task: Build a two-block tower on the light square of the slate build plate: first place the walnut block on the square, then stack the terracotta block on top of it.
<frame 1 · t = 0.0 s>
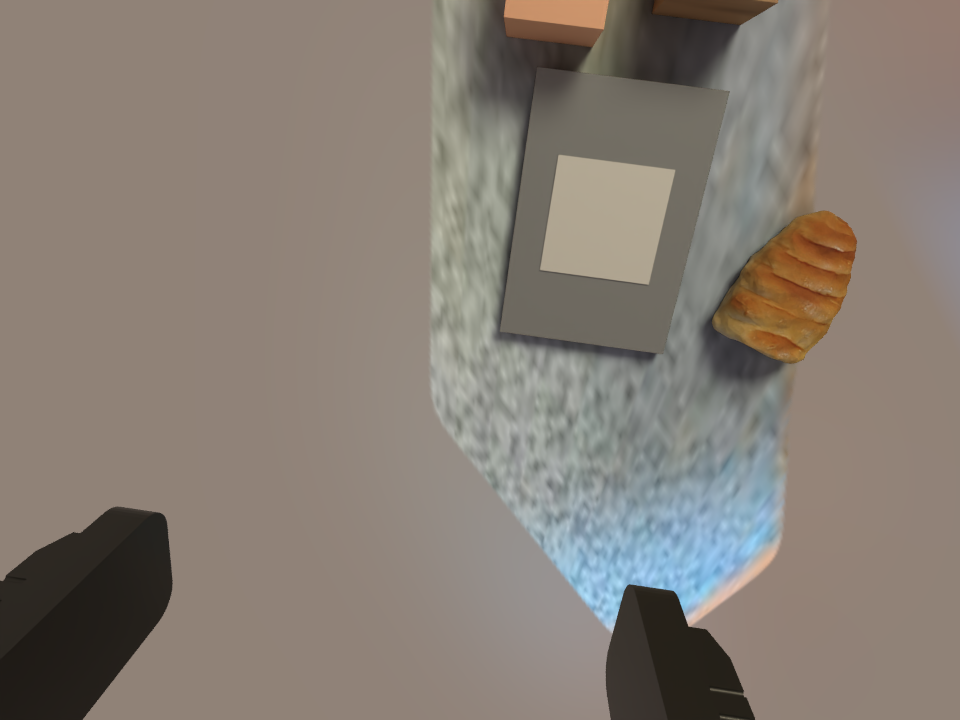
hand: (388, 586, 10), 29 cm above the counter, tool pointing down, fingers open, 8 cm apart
pastry: (772, 289, 37), on the counter
build plate: (602, 219, 35), on the counter
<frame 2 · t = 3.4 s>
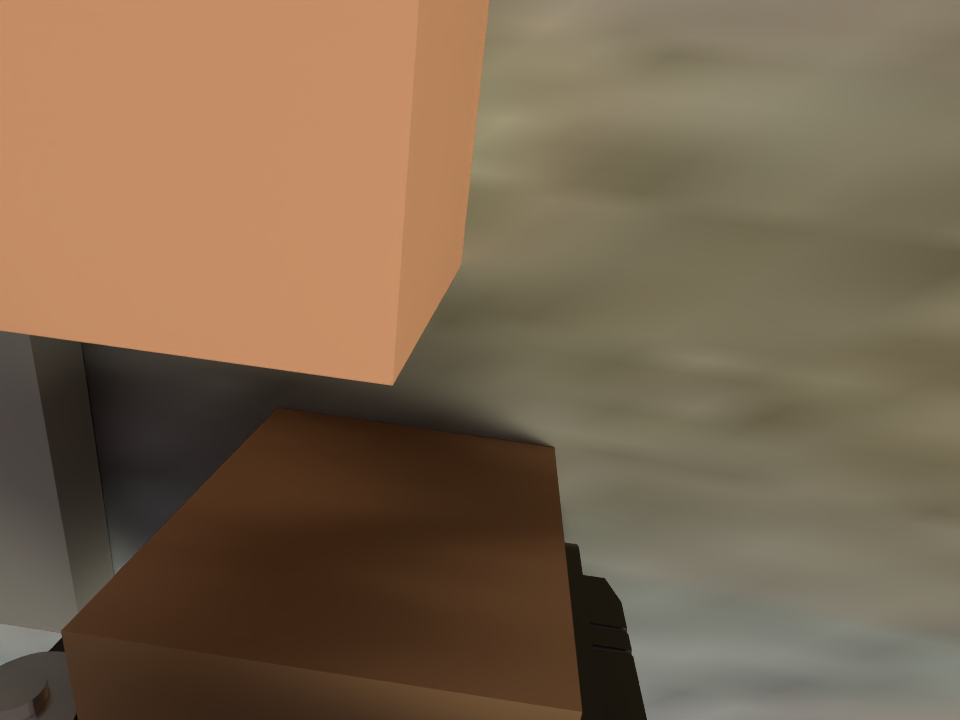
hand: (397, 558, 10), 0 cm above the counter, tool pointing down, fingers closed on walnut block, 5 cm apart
terracotta block: (310, 72, 8), on the counter
walnut block: (404, 541, 11), on the counter, touching gripper
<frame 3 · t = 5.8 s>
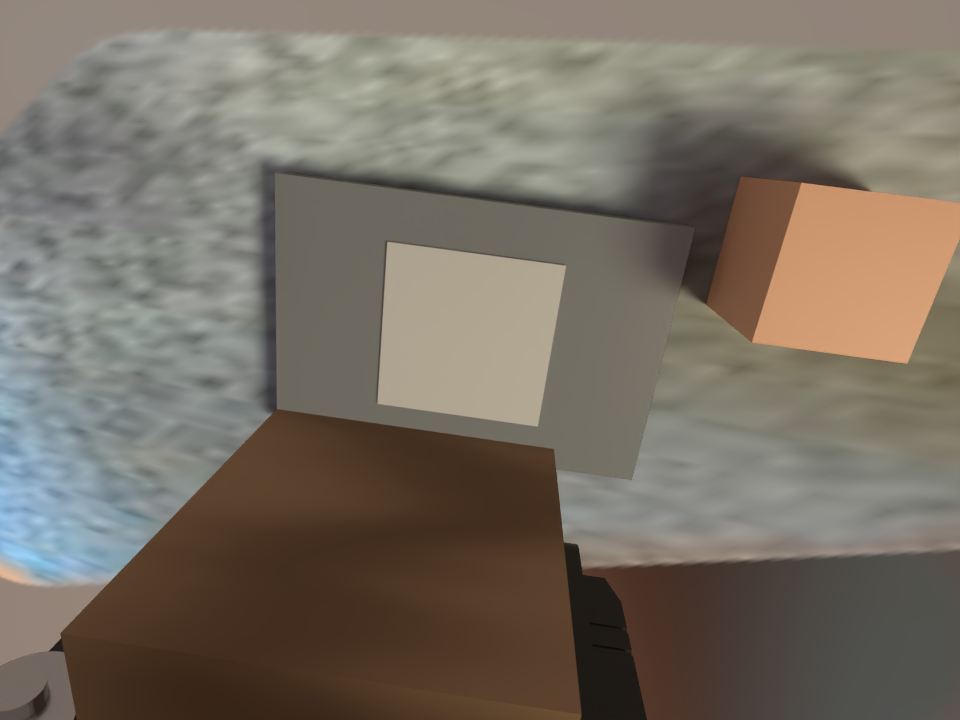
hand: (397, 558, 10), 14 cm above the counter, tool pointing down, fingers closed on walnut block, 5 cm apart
terracotta block: (785, 251, 22), on the counter
build plate: (468, 330, 24), on the counter
walnut block: (404, 542, 11), point 14 cm above the counter, touching gripper
when the fingers open (2 cm above the counter, at t = 8.3 s): walnut block stays where it is, resting on build plate.
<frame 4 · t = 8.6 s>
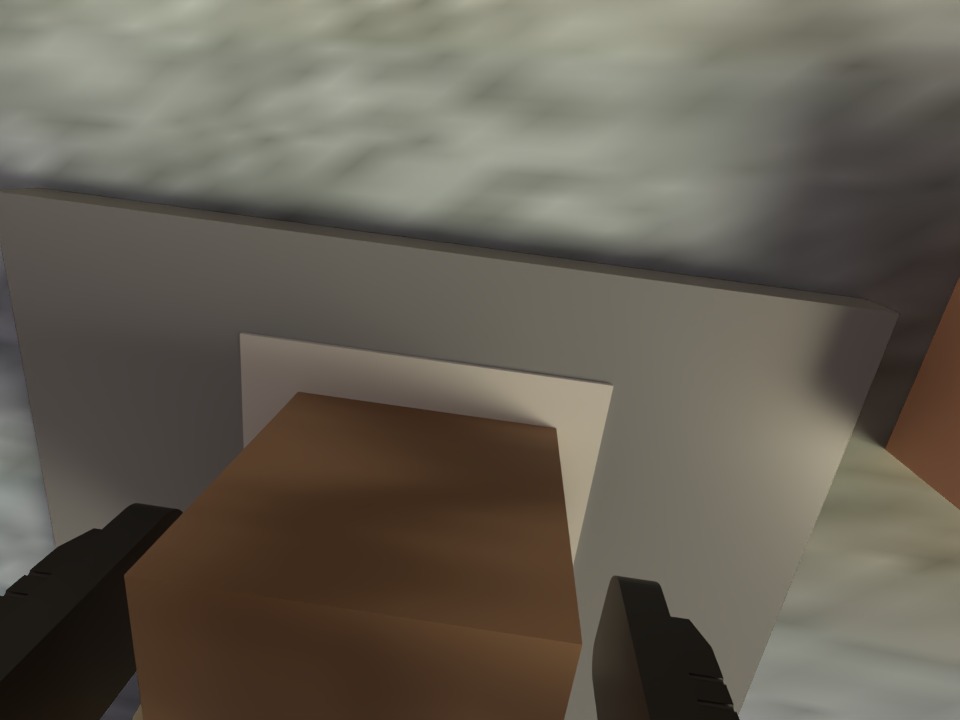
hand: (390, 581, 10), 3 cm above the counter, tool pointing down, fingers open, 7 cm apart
build plate: (419, 486, 13), on the counter
walnut block: (416, 518, 12), point 1 cm above the counter, touching build plate
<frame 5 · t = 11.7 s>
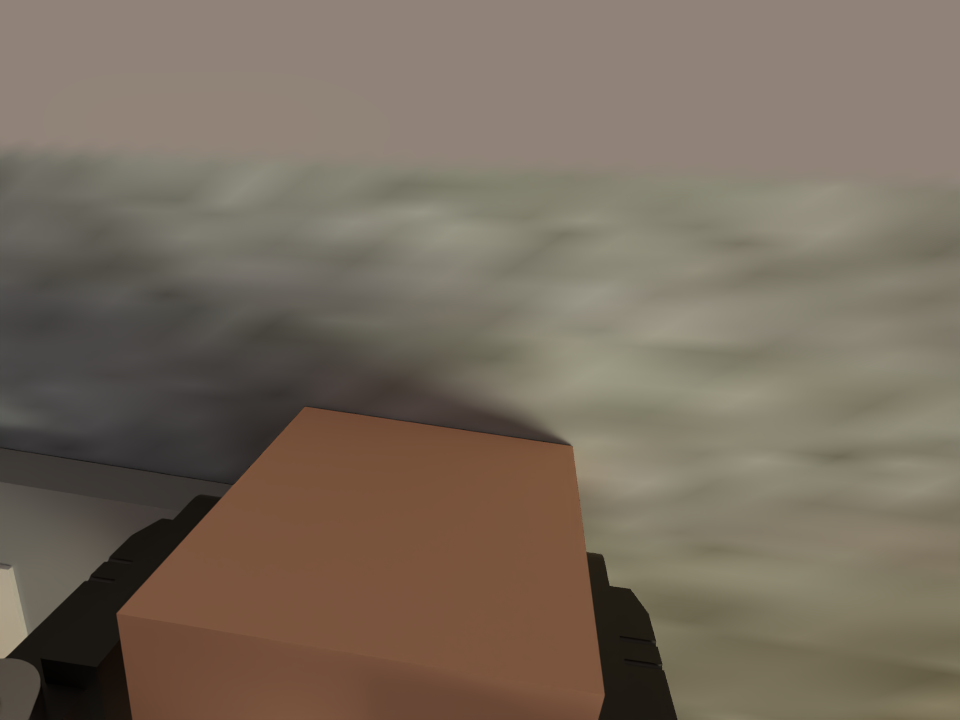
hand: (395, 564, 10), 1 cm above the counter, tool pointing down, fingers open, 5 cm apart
terracotta block: (426, 536, 11), on the counter
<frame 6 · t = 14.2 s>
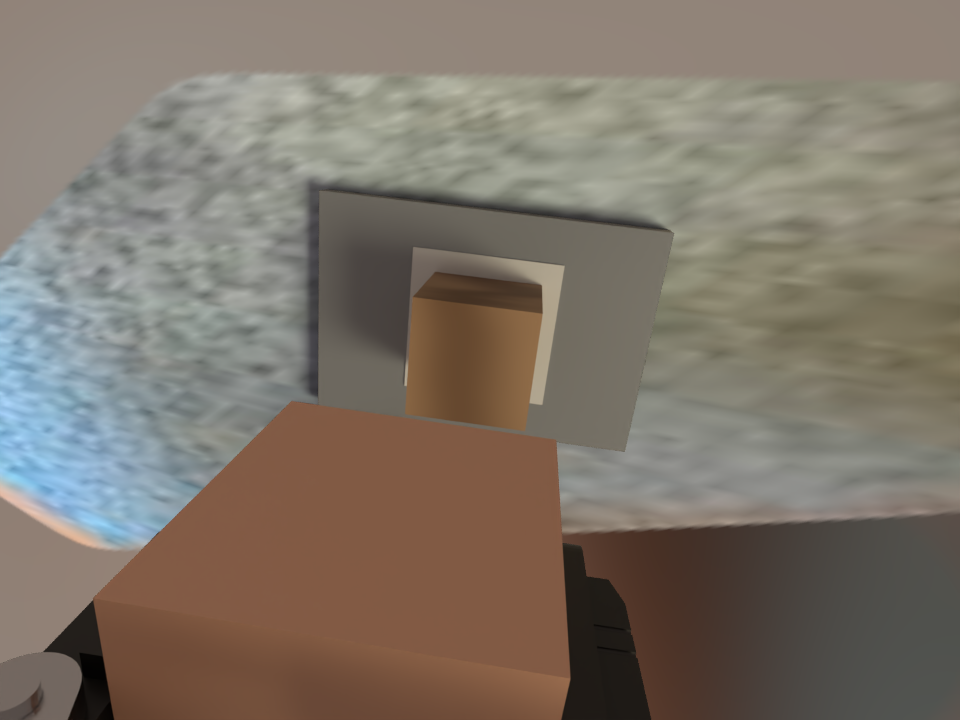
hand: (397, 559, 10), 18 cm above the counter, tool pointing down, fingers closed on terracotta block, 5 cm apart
terracotta block: (413, 530, 11), point 17 cm above the counter, touching gripper
build plate: (482, 322, 28), on the counter
walnut block: (482, 329, 27), point 1 cm above the counter, touching build plate
when the fingers open (7 cm above the counter, at t = 16.6 s): terracotta block stays where it is, resting on walnut block.
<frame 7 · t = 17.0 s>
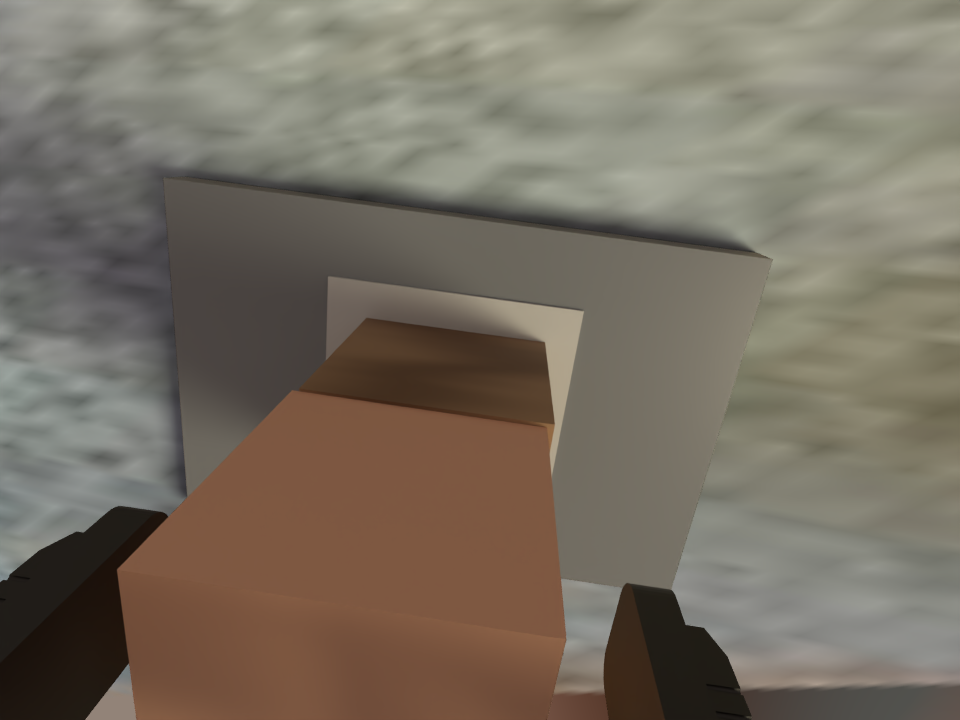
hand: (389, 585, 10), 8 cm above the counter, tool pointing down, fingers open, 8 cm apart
terracotta block: (408, 516, 12), point 6 cm above the counter, touching walnut block
build plate: (447, 394, 17), on the counter
walnut block: (446, 410, 16), point 1 cm above the counter, touching build plate, terracotta block
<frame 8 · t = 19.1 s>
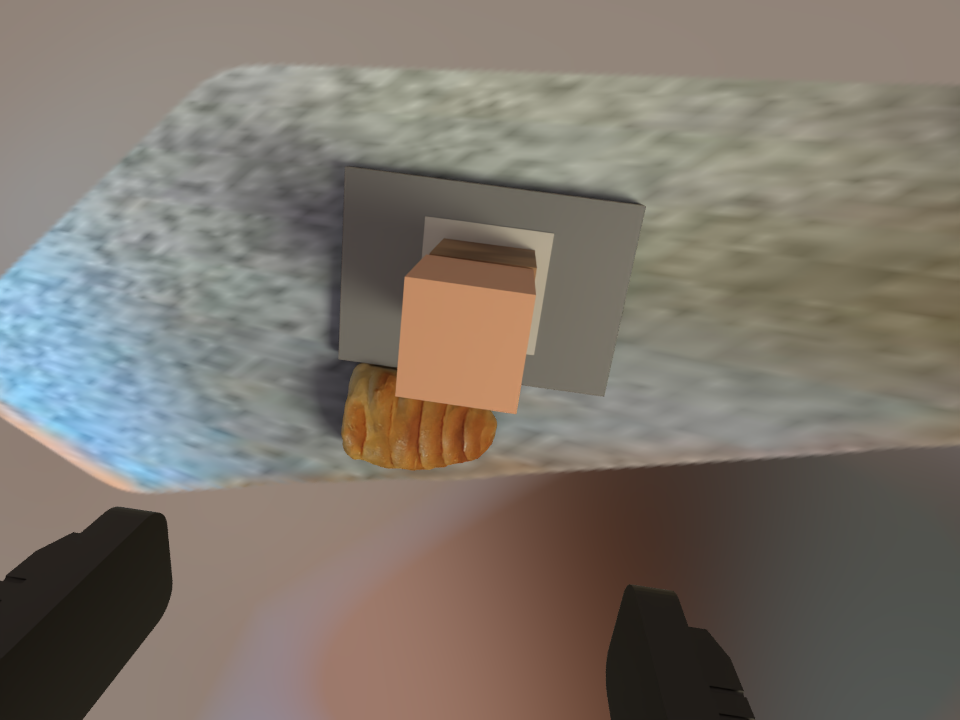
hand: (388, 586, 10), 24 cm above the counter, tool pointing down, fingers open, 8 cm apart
terracotta block: (473, 313, 27), point 6 cm above the counter, touching walnut block
pastry: (414, 406, 36), on the counter
build plate: (482, 284, 32), on the counter
walnut block: (483, 288, 31), point 1 cm above the counter, touching build plate, terracotta block
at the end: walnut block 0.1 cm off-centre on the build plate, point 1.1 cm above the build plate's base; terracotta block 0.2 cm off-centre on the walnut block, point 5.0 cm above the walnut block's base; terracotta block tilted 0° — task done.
